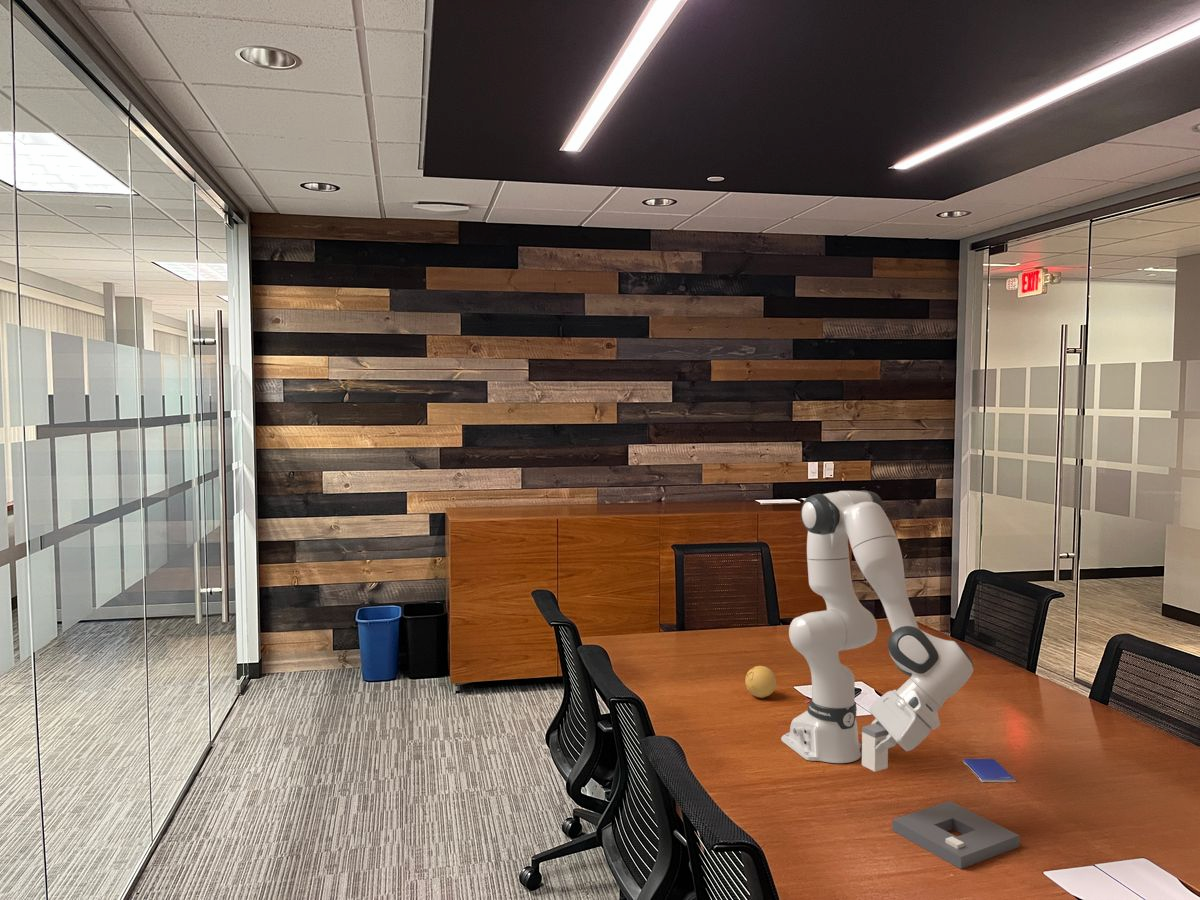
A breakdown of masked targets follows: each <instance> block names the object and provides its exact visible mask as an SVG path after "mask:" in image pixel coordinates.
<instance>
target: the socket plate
mask: <svg viewBox="0 0 1200 900" xmlns="http://www.w3.org/2000/svg"><path fill="white" fill-rule="evenodd" d="M951 830H954V831H956V832H958V833H959V834H961V835H957V836H956V835H954V834H953V833H950V832H949V831H951ZM892 831H893V832H895V833H896V834H898V835H900V836H901V837H903V838H905V839H907V840H909V841H910V842H913V844H915V845H918V846H919V847H921V848H923V849H925V850H926V851H928V852H930V853H932V854H934V855H935V856H937V857H939V858H940V859H942V860H944V861H946V862H948V863H949V864H950V865H953V866H955V867H956V868H957V869H960V870H962V869H965V868H968V867H970V866H973V865H976V864H978V863H981V862H983V861H985V860H989V859H991V858H994V857H996V856H998V855H1002V854H1004V852H1005V853H1007V852H1009V851H1012V850H1015V849H1017V848H1020V845H1021V843H1020V842H1021V839H1020V834H1019V833H1018V834H1017V833H1016V832H1014V831H1011V830H1010V829H1008V828H1005V827H1003V826H1002V825H1000V824H998V823H995V822H993V821H992V820H989V819H987V818H985V817H984V816H981V815H979V814H977V813H975V812H973V811H971V810H969V809H967V808H965V807H963V806H961V805H959V804H956V803H955V802H953V801H950V800H948V801H945V802H942V803H938V804H936V805H933V806H929V807H926V808H923V809H921V810H918V811H915V812H911V813H908V814H905V815H903V816H898V817H895V818H893V819H892ZM975 863H976V864H975Z"/></svg>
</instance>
